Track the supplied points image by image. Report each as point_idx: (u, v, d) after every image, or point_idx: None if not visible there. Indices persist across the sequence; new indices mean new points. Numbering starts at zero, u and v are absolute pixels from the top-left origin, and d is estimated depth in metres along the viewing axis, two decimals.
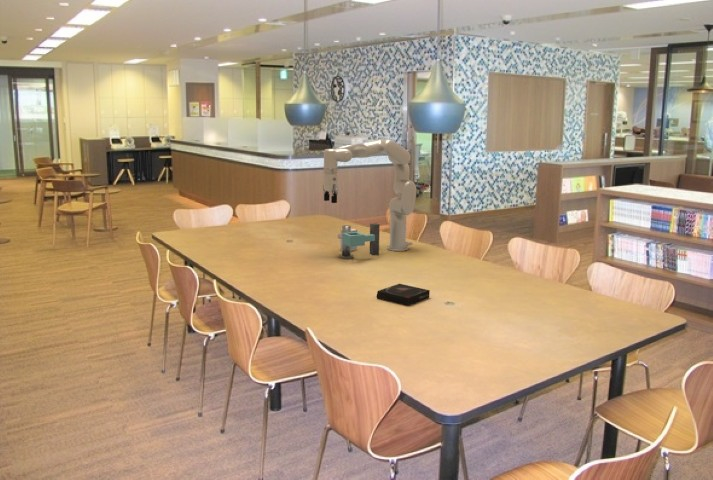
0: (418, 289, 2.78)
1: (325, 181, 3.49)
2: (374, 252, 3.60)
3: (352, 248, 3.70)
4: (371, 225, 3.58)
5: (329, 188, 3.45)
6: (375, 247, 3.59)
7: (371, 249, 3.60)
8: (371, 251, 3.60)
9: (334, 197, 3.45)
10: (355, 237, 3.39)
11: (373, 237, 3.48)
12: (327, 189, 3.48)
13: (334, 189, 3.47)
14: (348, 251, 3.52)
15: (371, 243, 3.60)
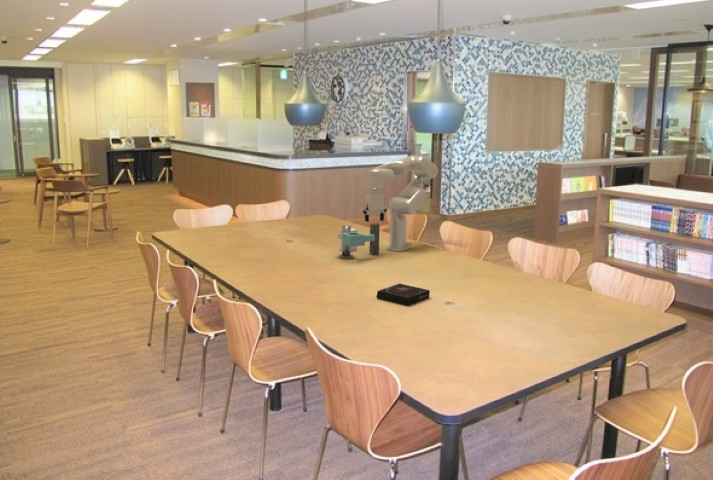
0: (418, 289, 2.78)
1: (374, 201, 3.53)
2: (374, 252, 3.60)
3: (352, 248, 3.70)
4: (371, 225, 3.58)
5: (381, 207, 3.56)
6: (375, 247, 3.59)
7: (371, 249, 3.60)
8: (371, 251, 3.60)
9: None
10: (355, 237, 3.39)
11: (373, 237, 3.48)
12: (377, 209, 3.55)
13: None
14: (348, 251, 3.52)
15: (371, 243, 3.60)
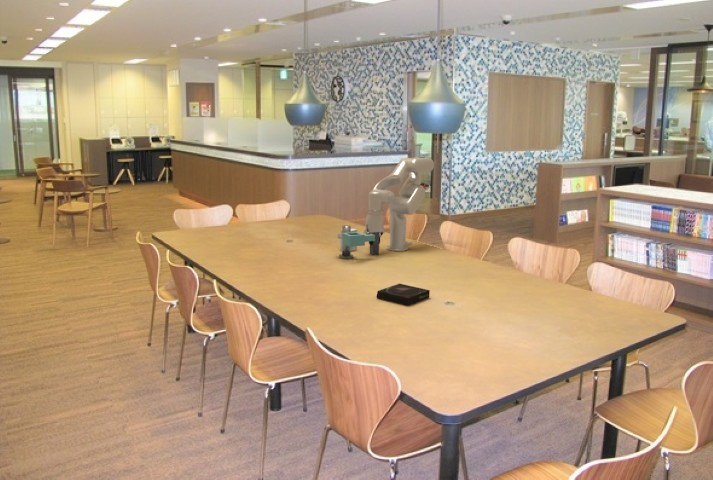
0: (418, 289, 2.78)
1: (374, 223, 3.56)
2: (374, 252, 3.60)
3: (352, 248, 3.70)
4: None
5: (381, 228, 3.59)
6: (375, 247, 3.59)
7: (371, 249, 3.60)
8: (371, 251, 3.60)
9: None
10: (355, 237, 3.39)
11: (373, 237, 3.48)
12: (377, 230, 3.58)
13: None
14: (348, 251, 3.52)
15: None
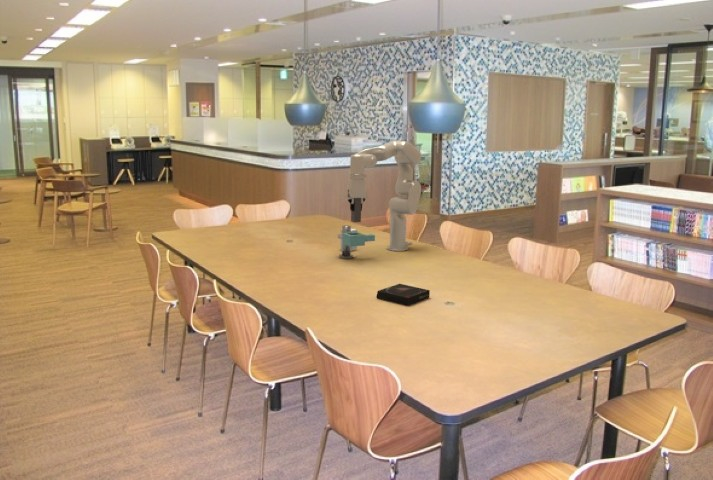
0: (418, 289, 2.78)
1: (356, 188, 3.38)
2: (356, 219, 3.41)
3: (352, 248, 3.70)
4: None
5: (363, 194, 3.41)
6: (357, 214, 3.41)
7: (352, 216, 3.42)
8: (352, 218, 3.42)
9: None
10: (355, 237, 3.39)
11: (373, 237, 3.48)
12: (359, 196, 3.40)
13: None
14: (348, 251, 3.52)
15: None
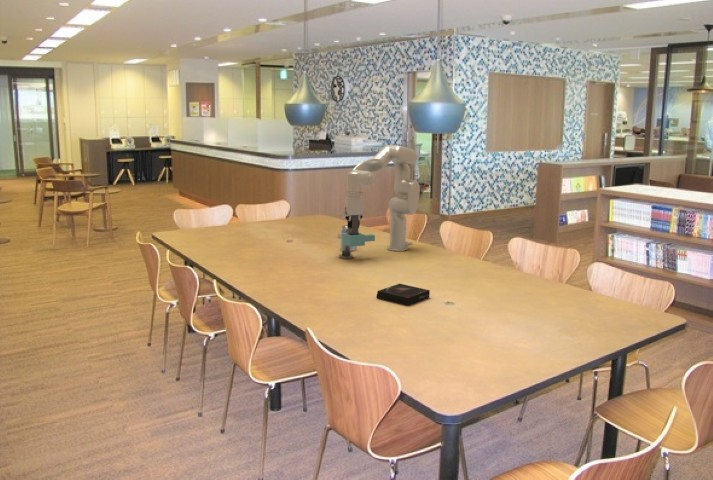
0: (418, 289, 2.78)
1: (353, 205, 3.38)
2: None
3: (352, 248, 3.70)
4: None
5: (360, 211, 3.41)
6: (354, 231, 3.41)
7: (350, 233, 3.42)
8: None
9: None
10: (355, 237, 3.39)
11: (373, 237, 3.48)
12: (356, 213, 3.40)
13: None
14: (348, 251, 3.52)
15: None
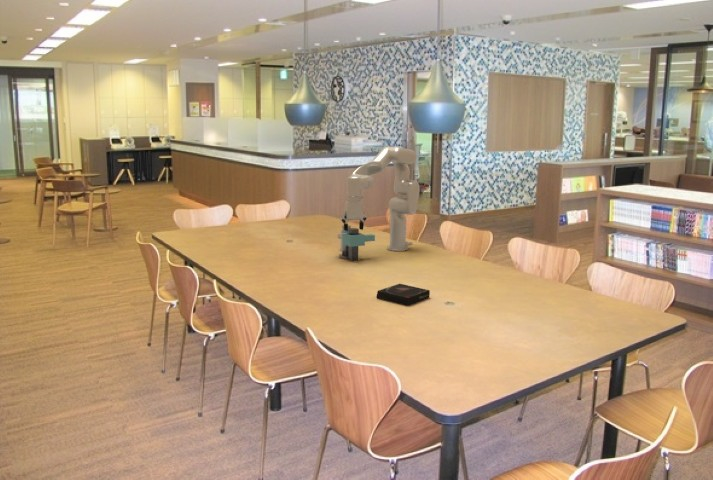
0: (418, 289, 2.78)
1: (353, 210, 3.38)
2: (353, 258, 3.44)
3: None
4: (350, 230, 3.43)
5: (360, 215, 3.41)
6: (354, 253, 3.44)
7: (350, 255, 3.45)
8: (350, 257, 3.45)
9: None
10: (355, 237, 3.39)
11: (373, 237, 3.48)
12: (356, 217, 3.40)
13: None
14: (348, 251, 3.52)
15: (350, 248, 3.44)
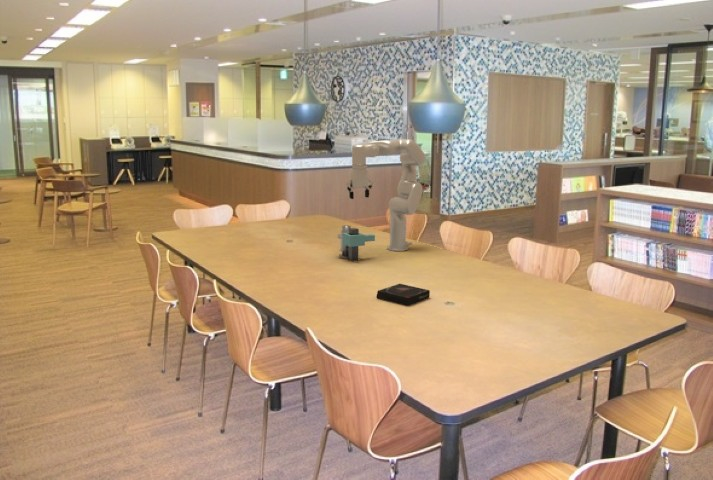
0: (418, 289, 2.78)
1: (359, 178, 3.43)
2: (353, 258, 3.44)
3: None
4: (350, 230, 3.43)
5: (366, 183, 3.46)
6: (354, 253, 3.44)
7: (350, 255, 3.45)
8: (350, 257, 3.45)
9: None
10: (355, 237, 3.39)
11: (373, 237, 3.48)
12: (362, 185, 3.45)
13: None
14: (348, 251, 3.52)
15: (350, 248, 3.44)
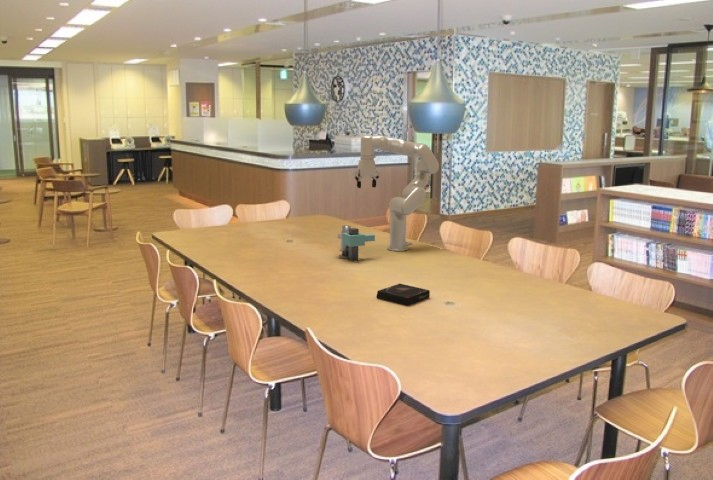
0: (418, 289, 2.78)
1: (366, 168, 3.55)
2: (353, 258, 3.44)
3: None
4: (350, 230, 3.43)
5: (373, 173, 3.58)
6: (354, 253, 3.44)
7: (350, 255, 3.45)
8: (350, 257, 3.45)
9: None
10: (355, 237, 3.39)
11: (373, 237, 3.48)
12: (369, 175, 3.57)
13: None
14: (348, 251, 3.52)
15: (350, 248, 3.44)
